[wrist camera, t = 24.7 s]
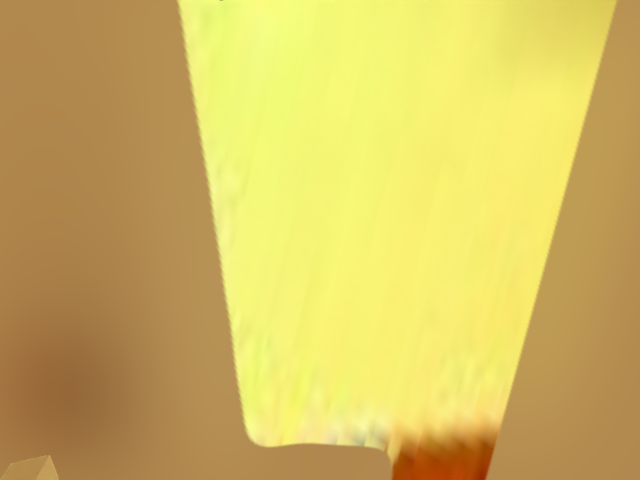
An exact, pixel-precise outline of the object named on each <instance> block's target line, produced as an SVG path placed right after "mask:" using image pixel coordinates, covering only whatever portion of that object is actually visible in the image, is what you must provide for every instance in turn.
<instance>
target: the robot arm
mask: <svg viewBox="0 0 640 480" xmlns="http://www.w3.org/2000/svg"><path fill="white" fill-rule="evenodd" d="M0 480H60V479H59V477H58V474H57V472H56V470H55V467H54V464H53V462H52V459H51V457H50V455H45V456H40V457H35V458H31V459H26V460H22V461H18V462H13V463H11V464H10V465H9V467H8V468H7V470H6V471H5V473H4V474H3V476H2V477H1V479H0Z"/></svg>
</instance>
